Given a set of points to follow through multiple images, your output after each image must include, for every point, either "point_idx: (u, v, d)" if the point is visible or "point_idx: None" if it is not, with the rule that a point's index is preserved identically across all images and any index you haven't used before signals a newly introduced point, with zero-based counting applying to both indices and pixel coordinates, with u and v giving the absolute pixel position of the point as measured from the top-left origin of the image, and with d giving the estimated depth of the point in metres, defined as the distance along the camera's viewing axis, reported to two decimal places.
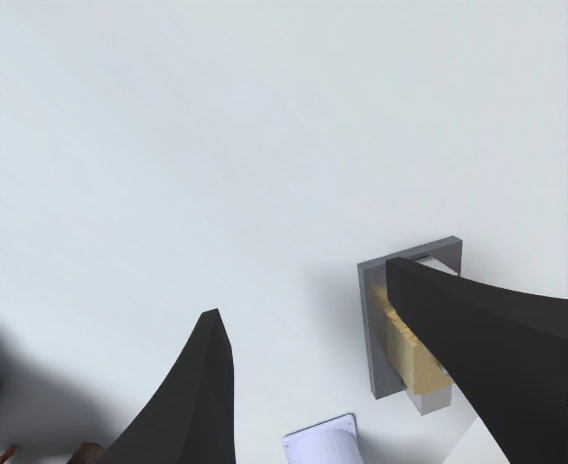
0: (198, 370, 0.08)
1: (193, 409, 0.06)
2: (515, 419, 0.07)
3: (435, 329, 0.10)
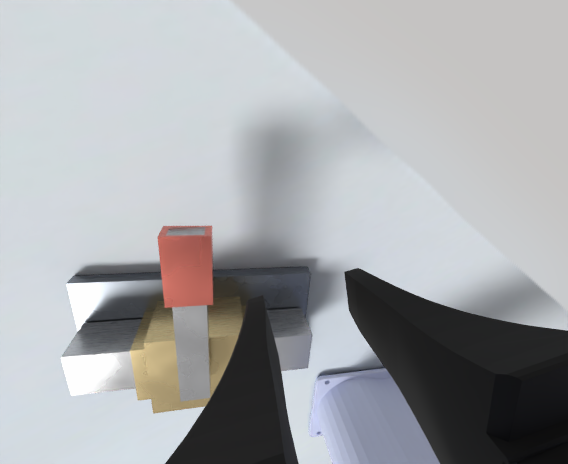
0: (263, 350, 0.08)
1: (272, 383, 0.06)
2: (451, 442, 0.07)
3: (386, 345, 0.10)
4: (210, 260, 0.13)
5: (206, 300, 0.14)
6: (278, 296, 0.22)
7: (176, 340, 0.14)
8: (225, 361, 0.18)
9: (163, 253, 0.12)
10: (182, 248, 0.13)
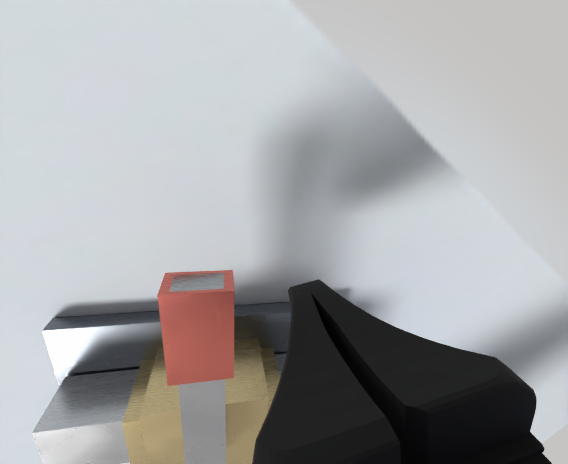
0: (322, 332, 0.08)
1: (343, 361, 0.07)
2: None
3: None
4: (232, 322, 0.09)
5: (225, 373, 0.10)
6: None
7: (183, 423, 0.11)
8: (244, 430, 0.14)
9: (165, 316, 0.09)
10: (193, 308, 0.09)
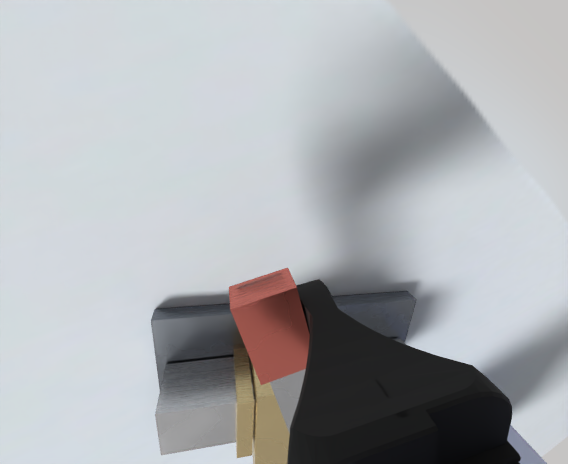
0: (343, 325, 0.08)
1: (368, 353, 0.07)
2: None
3: None
4: (302, 316, 0.10)
5: None
6: (378, 326, 0.19)
7: (283, 413, 0.12)
8: None
9: (242, 326, 0.09)
10: (264, 312, 0.09)
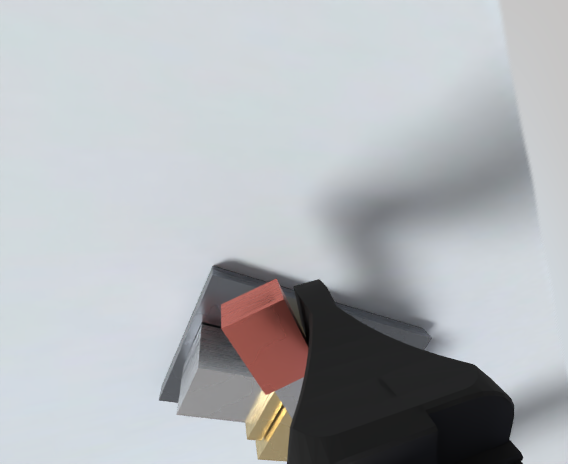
0: (343, 325, 0.08)
1: (368, 353, 0.07)
2: None
3: None
4: (295, 325, 0.10)
5: None
6: None
7: None
8: None
9: (236, 342, 0.09)
10: (256, 327, 0.09)
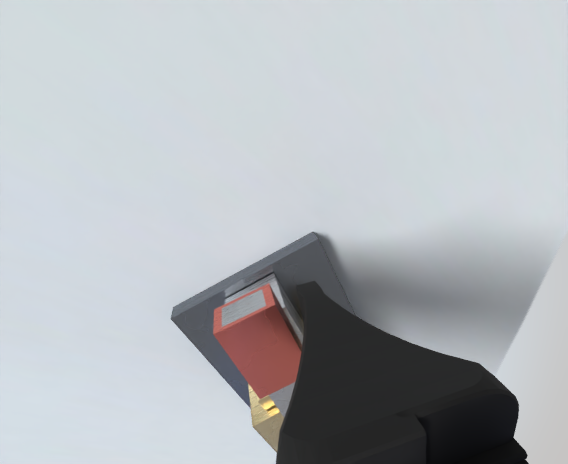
0: (337, 327, 0.08)
1: (360, 355, 0.07)
2: None
3: None
4: (287, 330, 0.10)
5: None
6: None
7: None
8: None
9: (229, 347, 0.10)
10: (248, 332, 0.09)
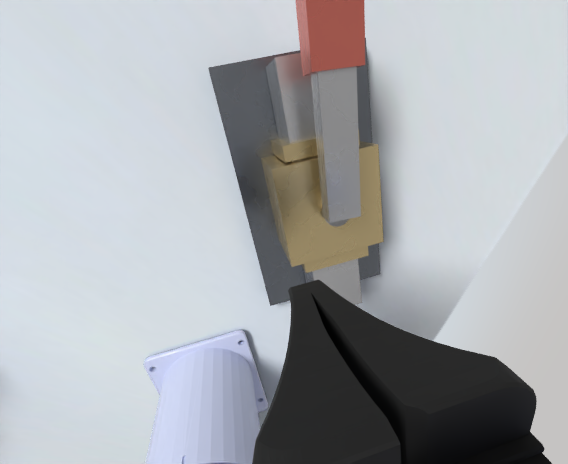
0: (322, 332, 0.08)
1: (343, 361, 0.07)
2: None
3: None
4: None
5: (357, 57, 0.11)
6: None
7: (324, 127, 0.12)
8: (350, 233, 0.16)
9: None
10: None
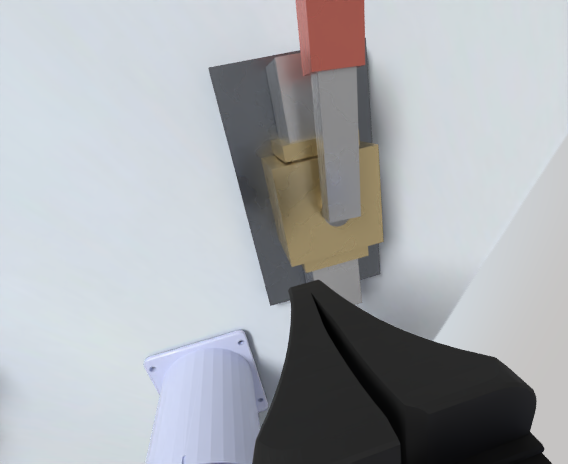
0: (322, 332, 0.08)
1: (343, 361, 0.07)
2: None
3: None
4: None
5: (357, 57, 0.11)
6: None
7: (324, 127, 0.12)
8: (350, 233, 0.16)
9: None
10: None
